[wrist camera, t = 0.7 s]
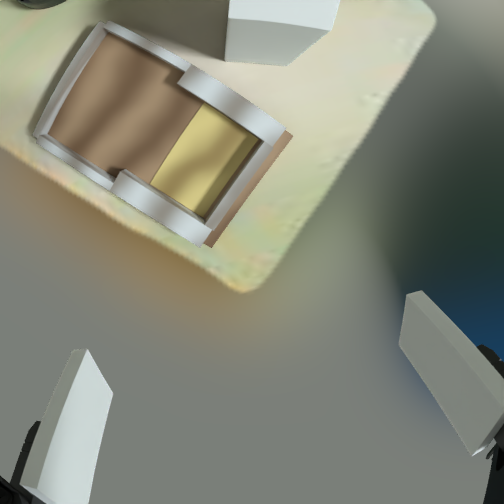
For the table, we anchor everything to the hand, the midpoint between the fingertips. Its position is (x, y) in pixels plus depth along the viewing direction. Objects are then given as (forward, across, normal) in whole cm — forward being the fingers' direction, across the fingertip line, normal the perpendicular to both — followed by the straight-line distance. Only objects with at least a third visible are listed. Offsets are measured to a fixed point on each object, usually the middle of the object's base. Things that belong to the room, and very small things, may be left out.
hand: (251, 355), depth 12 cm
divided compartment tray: (+27, -7, +9) cm, 29 cm away
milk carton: (+27, +6, +18) cm, 33 cm away
